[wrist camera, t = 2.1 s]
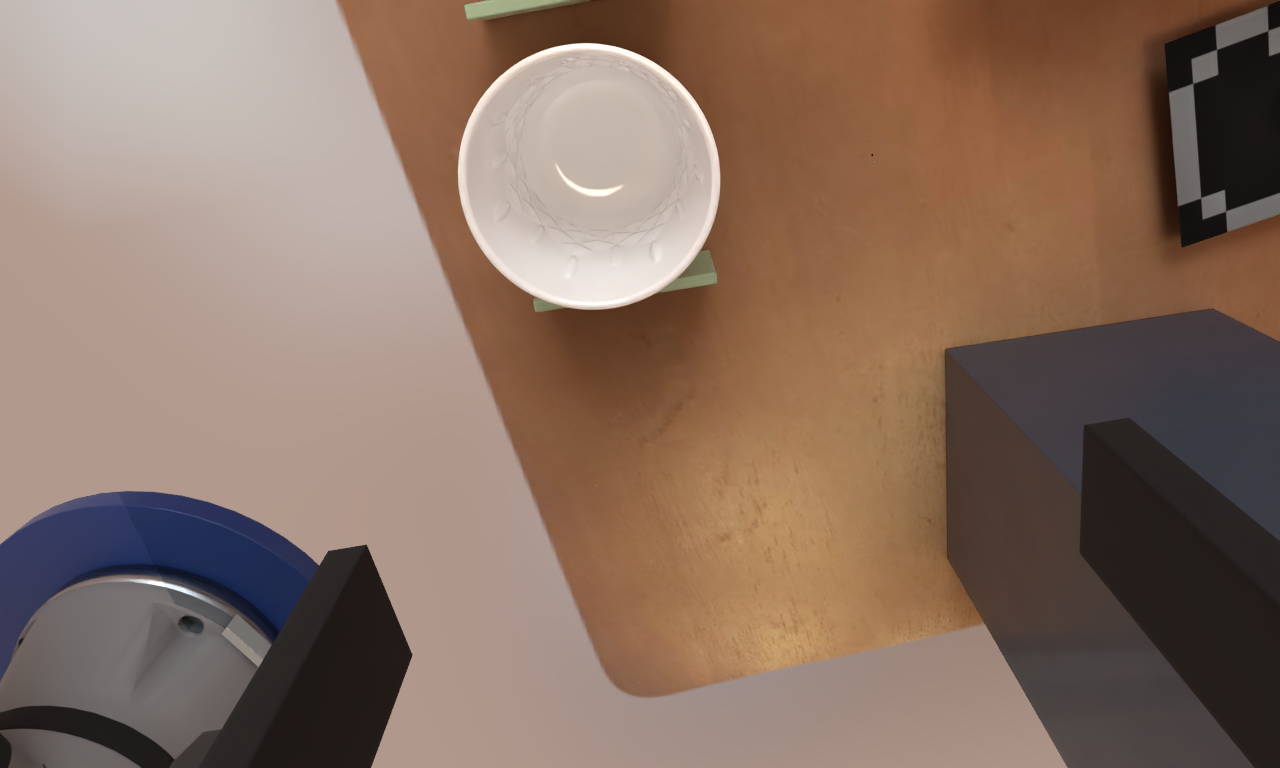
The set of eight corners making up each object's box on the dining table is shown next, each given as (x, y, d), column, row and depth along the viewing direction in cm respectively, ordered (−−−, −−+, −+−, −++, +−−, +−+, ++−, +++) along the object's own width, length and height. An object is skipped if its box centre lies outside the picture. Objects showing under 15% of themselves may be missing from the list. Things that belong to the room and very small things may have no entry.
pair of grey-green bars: (544, 287, 36) (534, 313, 32) (481, 6, 31) (463, 4, 28) (710, 260, 35) (717, 284, 32) (672, -30, 30) (675, -36, 27)
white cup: (586, 270, 35) (568, 356, 26) (468, 120, 33) (402, 157, 24) (735, 161, 33) (770, 213, 24) (621, -7, 31) (614, -20, 22)
